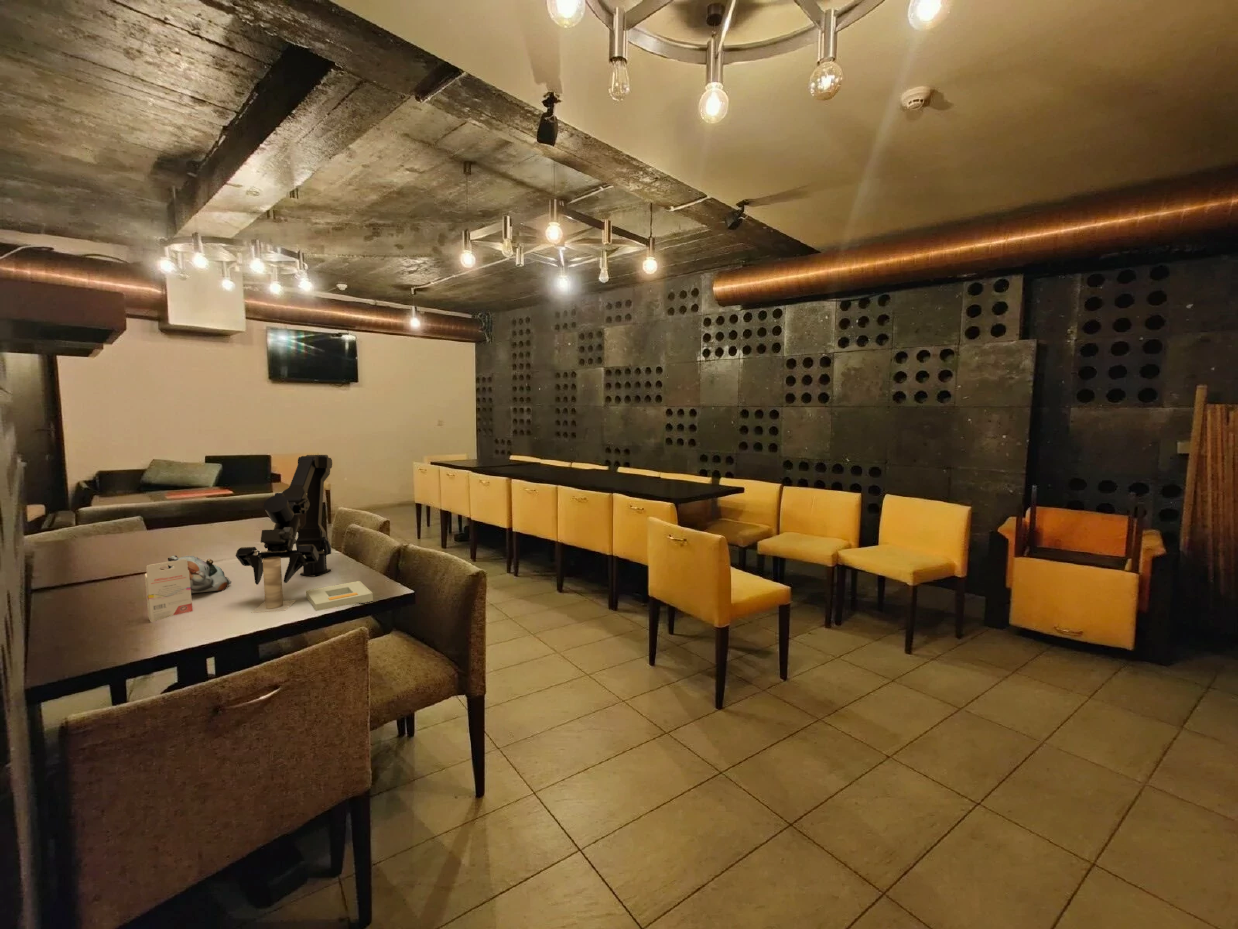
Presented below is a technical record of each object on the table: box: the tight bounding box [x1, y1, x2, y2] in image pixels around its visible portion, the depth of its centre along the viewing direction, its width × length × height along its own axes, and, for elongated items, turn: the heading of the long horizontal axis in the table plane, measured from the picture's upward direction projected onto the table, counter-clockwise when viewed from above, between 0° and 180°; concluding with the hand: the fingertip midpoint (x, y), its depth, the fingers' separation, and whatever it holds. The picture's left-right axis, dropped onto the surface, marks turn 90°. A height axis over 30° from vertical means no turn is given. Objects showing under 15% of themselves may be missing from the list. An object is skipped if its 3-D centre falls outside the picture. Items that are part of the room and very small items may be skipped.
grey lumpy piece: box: [167, 555, 232, 594], centre depth 156 cm, size 15×12×14 cm
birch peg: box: [262, 557, 284, 609], centre depth 143 cm, size 4×4×13 cm
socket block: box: [305, 580, 374, 612], centre depth 150 cm, size 14×14×3 cm
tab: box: [250, 599, 297, 614], centre depth 144 cm, size 8×8×1 cm
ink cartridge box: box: [144, 559, 194, 623], centre depth 138 cm, size 9×5×15 cm, turn 136°
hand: (270, 583), depth 141 cm, fingers open, 6 cm apart
